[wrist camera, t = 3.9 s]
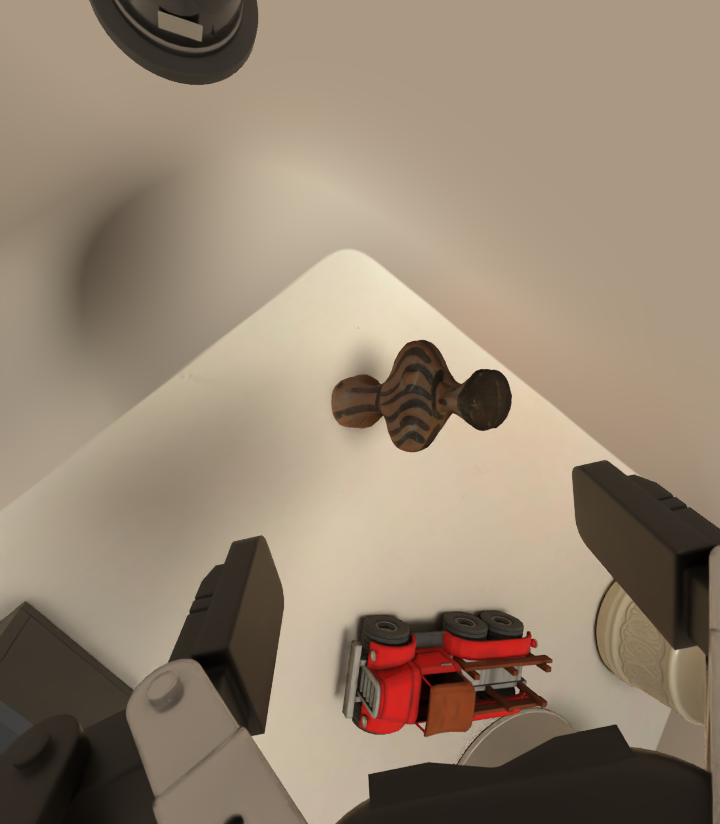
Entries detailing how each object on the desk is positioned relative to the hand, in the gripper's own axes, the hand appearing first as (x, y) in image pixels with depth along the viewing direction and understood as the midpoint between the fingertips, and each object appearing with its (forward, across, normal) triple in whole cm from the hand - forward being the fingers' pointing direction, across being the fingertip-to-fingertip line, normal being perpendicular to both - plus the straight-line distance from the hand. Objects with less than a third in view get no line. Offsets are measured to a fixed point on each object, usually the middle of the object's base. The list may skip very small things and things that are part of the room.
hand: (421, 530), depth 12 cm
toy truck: (+22, +1, +29) cm, 37 cm away
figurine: (+28, +2, +5) cm, 28 cm away
